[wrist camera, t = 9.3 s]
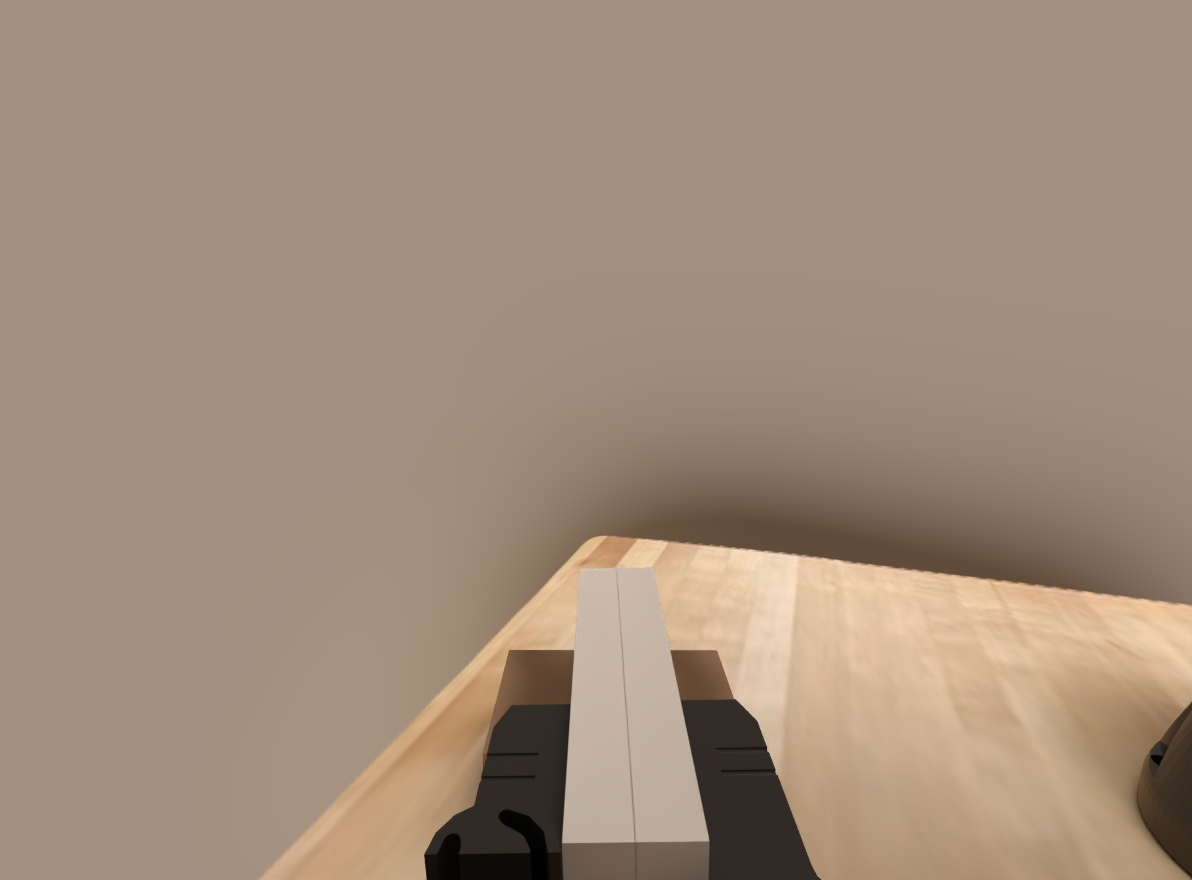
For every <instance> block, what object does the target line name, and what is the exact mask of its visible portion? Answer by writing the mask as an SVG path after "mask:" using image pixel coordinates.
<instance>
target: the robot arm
mask: <svg viewBox="0 0 1192 880" xmlns="http://www.w3.org/2000/svg"><path fill="white" fill-rule="evenodd" d="M1137 800H1138V805H1139V809H1140V811H1141V814H1142V816H1143V818H1144V820H1145V822H1146V824H1147V825H1148V827H1149V828H1150V830H1151V832H1152V833H1153V834H1154V836H1155V837H1156V838H1157V840H1158V841H1159V842H1160V843H1161V844H1162V846H1163V847H1164V848H1165V849H1166V850H1167V851H1168V852H1169V853H1170V855H1171V856H1172V857H1173V858H1174V859H1175V860H1176V861H1177V862H1178V863H1179V864H1180V865H1182V866H1183V867H1184V868H1185V869H1186V870H1187V871H1188V872H1189V873H1190V874H1191V875H1192V702H1191V703H1190V704H1189V705H1188V706H1187V708H1186V709H1185V710H1184V711H1183V712H1182V714H1181V715H1180V716H1179V717H1178V718H1177V719H1176V721H1175V722H1174V723H1173V724H1172V725H1171V727H1170V728H1169V729H1168V730H1167V732H1166V733H1165V734H1164V736H1163V737H1162V739H1161V740H1160V741H1159V742H1158V743H1156V744H1155V745H1154V747H1153V748H1152V749H1151V750H1150V751H1149V753H1148V754H1147V756H1146V758H1145V761H1144V763H1143V768H1142V773H1141V777H1140V782H1139V787H1138V792H1137ZM424 857H425V867H426V877H427V880H821V879H820V878H819V877H818V876H817V875H816V873H815V871H814V869H813V867H812V865H811V863H810V860H809V857H808V855H807V852H806V849H805V847H804V844H803V841H802V839H801V836H800V834H799V831H798V828H797V826H796V823H795V820H794V818H793V815H792V812H791V810H790V807H789V804H788V802H787V799H786V796H785V794H784V791H783V788H782V786H781V783H780V780H779V778H778V775H776V772H775V767H774V765H773V762H772V759H771V757H770V754H769V752H767V746H766V743H765V741H764V738H763V735H762V733H761V730H760V727H759V725H758V722H757V720H756V719H755V718H754V717H753V716H752V715H751V714H750V713H749V712H748V711H747V710H746V709H745V708H744V707H743V706H742V705H741V704H740V703H739V702H738V701H737V700H736V699H723V700H680V696H679V691H678V686H677V681H676V676H675V671H674V667H673V662H672V657H671V652H670V647H669V642H668V637H667V633H666V628H665V623H664V618H663V613H662V608H661V604H660V599H659V594H658V589H657V584H656V579H655V574H654V570H653V567H651V568H590V569H580V572H579V587H578V603H577V618H576V634H575V649H574V665H573V680H572V696H571V704H546V705H511V706H510V708H509V709H508V710H507V711H506V713H505V714H504V715H503V716H502V717H501V719H500V720H499V721H498V722H497V723H496V725H495V726H494V727H493V730H492V734H491V739H490V743H489V747H488V751H487V759H485V763H484V768H483V772H482V776H481V782H480V784H479V788H478V792H477V797H476V801H475V805H474V806H473V807H471V808H469V809H466V810H464V811H462V812H460V813H458V814H456V815H454V816H453V817H452V818H451V819H450V820H449V821H448V822H447V823H446V824H445V825H444V826H443V827H441V828H440V829H439V830H438V831H437V832H436V833H435V835H434V837H433V839H432V841H431V843H430V845H429V847H428V849H427V850H426V852H425V854H424Z"/></svg>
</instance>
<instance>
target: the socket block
mask: <svg viewBox="0 0 1192 880" xmlns="http://www.w3.org/2000/svg"><path fill="white" fill-rule="evenodd" d="M670 652H671V657H672V662H673V667H674V671H675V676H676V681H677V686H678V691H679V696H680V700H723V699H734V698H733V695H732V692H731V689H730V686H729V684H728V681H727V678H726V675H725V672H724V669H723V667H722V664H721V661H720V658H719V655H718V652H717V650H670ZM573 665H574V650H509V653H508V657H507V661H506V665H505V669H504V673H503V677H502V681H501V685H500V689H499V692H498V696H497V700H496V704H495V708H494V712H493V716H492V720H491V724H490V728H489V732H488V736H487V740H486V744H485V748H484V752H483V768H484V763H485V759H487V751H488V747H489V743H490V739H491V734H492V730H493V727H494V726H495V725H496V723H497V722H498V721H499V720H500V719H501V717H502V716H503V715H504V714H505V713H506V711H507V710H508V709H509V708H510V706H511V705H546V704H571V696H572V680H573Z"/></svg>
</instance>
